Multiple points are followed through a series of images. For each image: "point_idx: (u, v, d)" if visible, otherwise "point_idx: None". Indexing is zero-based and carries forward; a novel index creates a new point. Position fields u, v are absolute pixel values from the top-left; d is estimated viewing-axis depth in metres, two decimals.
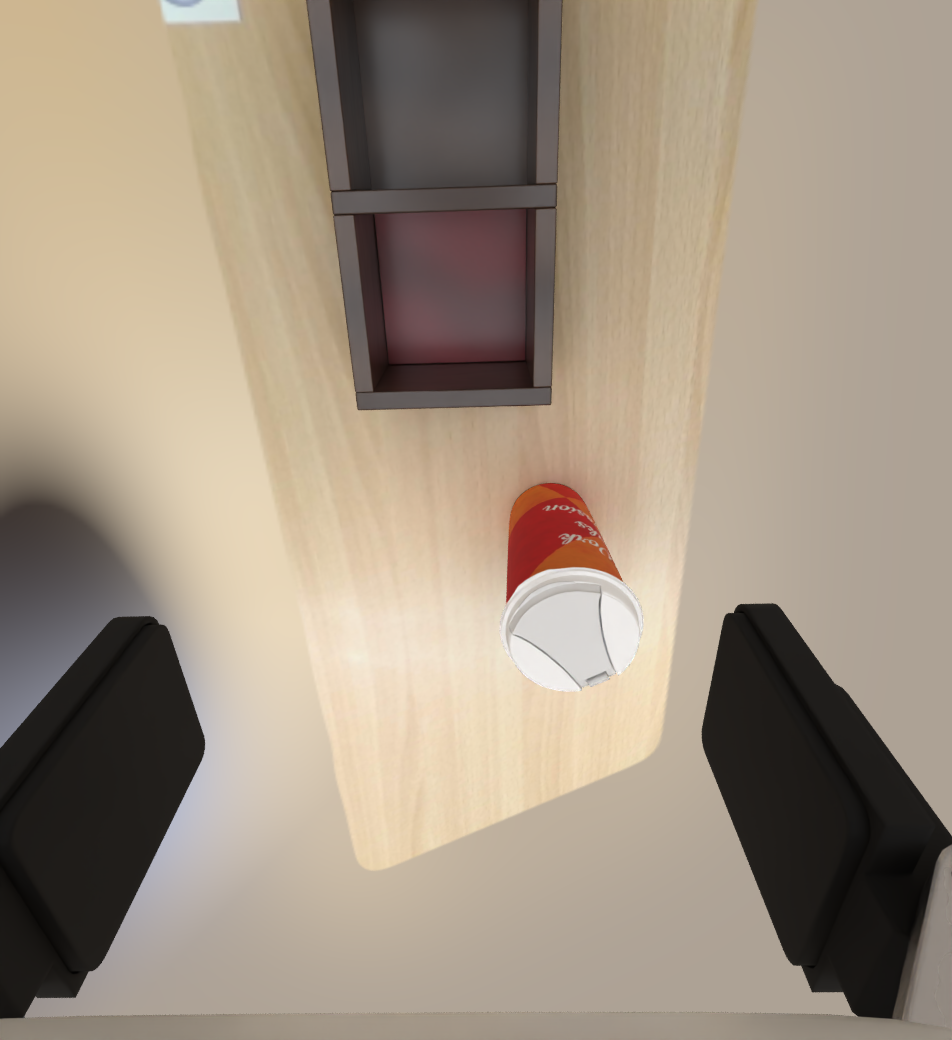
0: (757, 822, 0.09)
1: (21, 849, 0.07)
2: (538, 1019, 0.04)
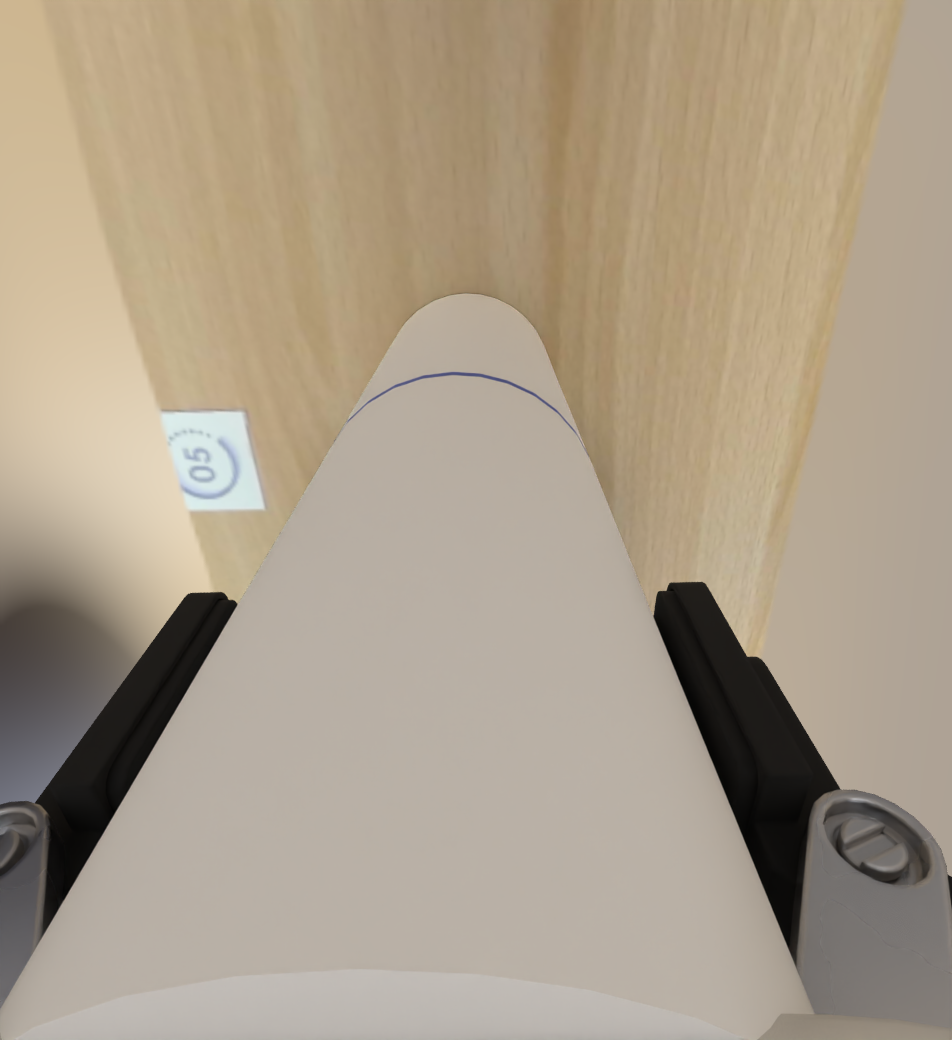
0: None
1: None
2: None
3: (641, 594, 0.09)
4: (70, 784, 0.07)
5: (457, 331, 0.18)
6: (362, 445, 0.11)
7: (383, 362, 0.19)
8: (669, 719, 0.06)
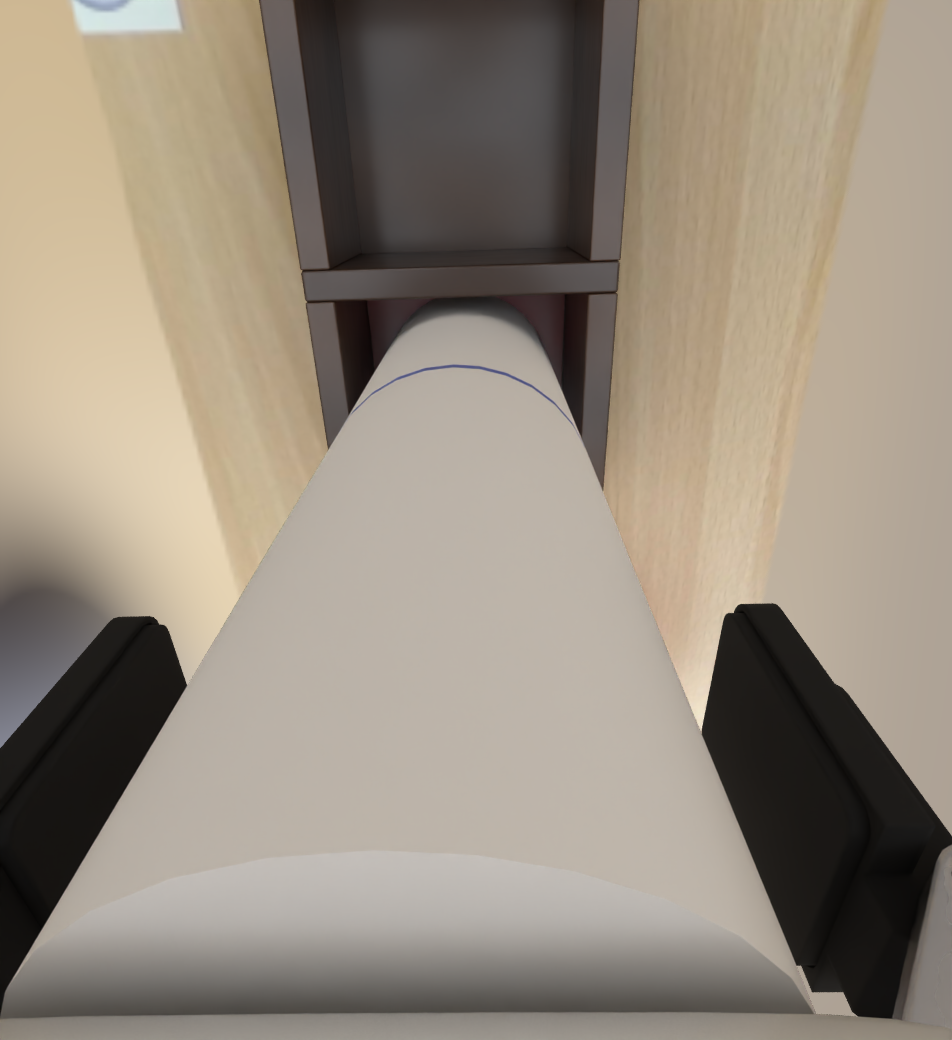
0: (757, 822, 0.09)
1: (21, 849, 0.07)
2: (540, 1018, 0.04)
3: (631, 569, 0.10)
4: None
5: (457, 327, 0.19)
6: (367, 432, 0.12)
7: (386, 357, 0.20)
8: (653, 672, 0.07)
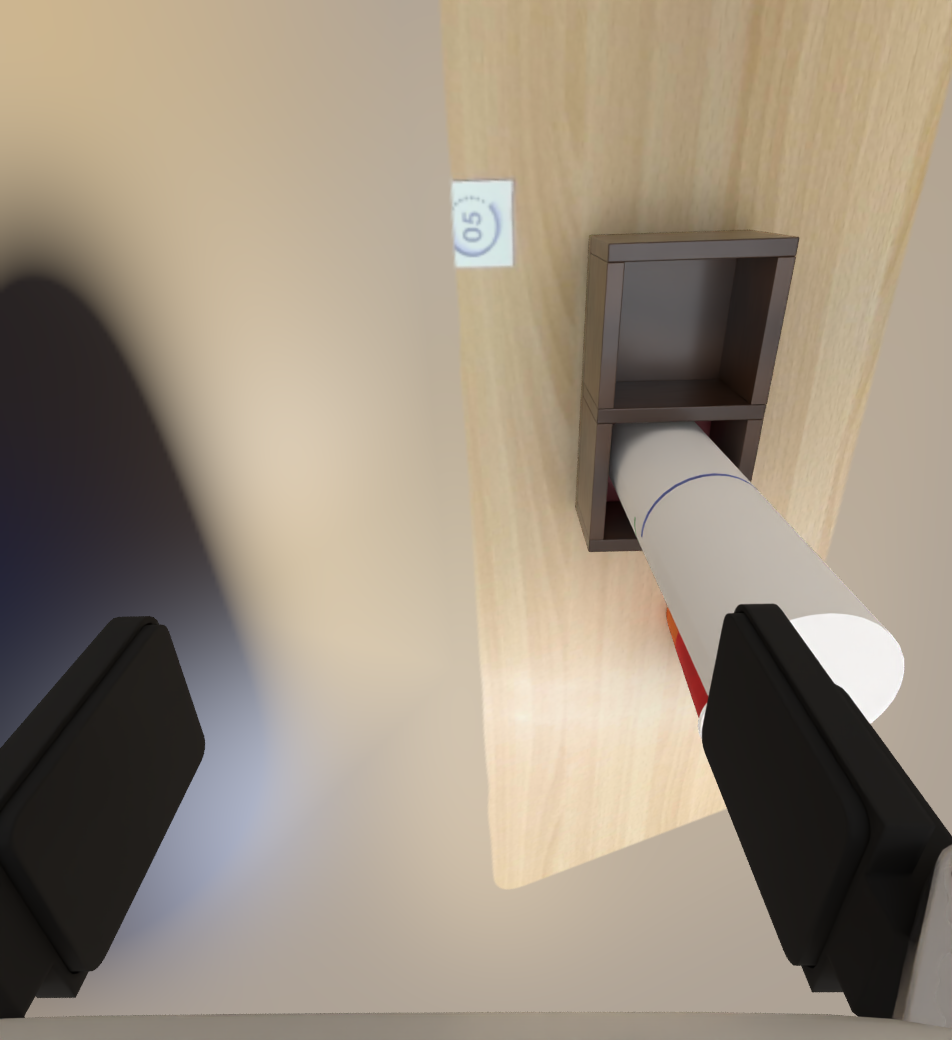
0: (757, 822, 0.09)
1: (21, 849, 0.07)
2: (539, 1018, 0.04)
3: None
4: None
5: (687, 442, 0.37)
6: (707, 511, 0.30)
7: (644, 455, 0.38)
8: (852, 592, 0.25)
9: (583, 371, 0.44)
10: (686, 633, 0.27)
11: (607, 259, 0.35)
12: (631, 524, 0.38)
